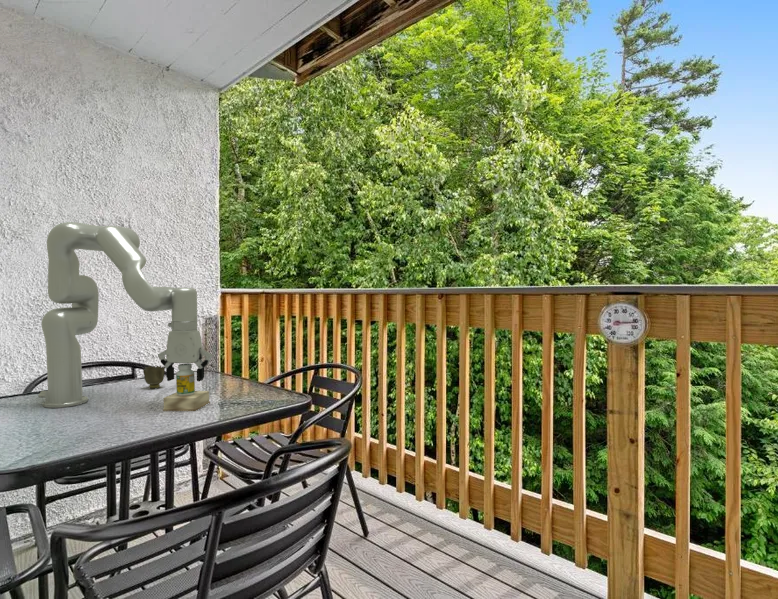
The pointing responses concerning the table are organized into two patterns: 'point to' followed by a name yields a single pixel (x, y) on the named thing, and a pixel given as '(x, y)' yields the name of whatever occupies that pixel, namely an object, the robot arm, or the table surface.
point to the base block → (186, 401)
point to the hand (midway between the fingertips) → (185, 380)
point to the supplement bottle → (185, 380)
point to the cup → (154, 376)
